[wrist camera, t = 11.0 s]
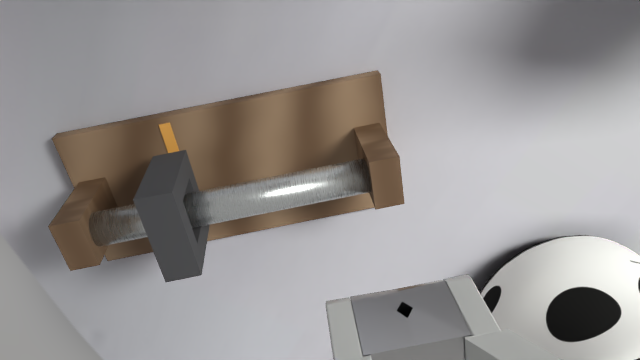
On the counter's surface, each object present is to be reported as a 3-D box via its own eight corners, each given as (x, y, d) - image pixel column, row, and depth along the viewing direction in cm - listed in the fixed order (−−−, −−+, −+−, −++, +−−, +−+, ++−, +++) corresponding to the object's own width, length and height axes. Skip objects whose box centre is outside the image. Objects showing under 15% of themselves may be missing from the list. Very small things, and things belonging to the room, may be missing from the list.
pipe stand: (377, 70, 37) (401, 101, 31) (392, 197, 42) (415, 246, 36) (56, 133, 37) (14, 177, 31) (110, 253, 42) (84, 313, 36)
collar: (185, 149, 36) (172, 192, 31) (209, 223, 39) (201, 275, 33) (152, 156, 36) (133, 200, 30) (179, 229, 39) (165, 282, 33)
